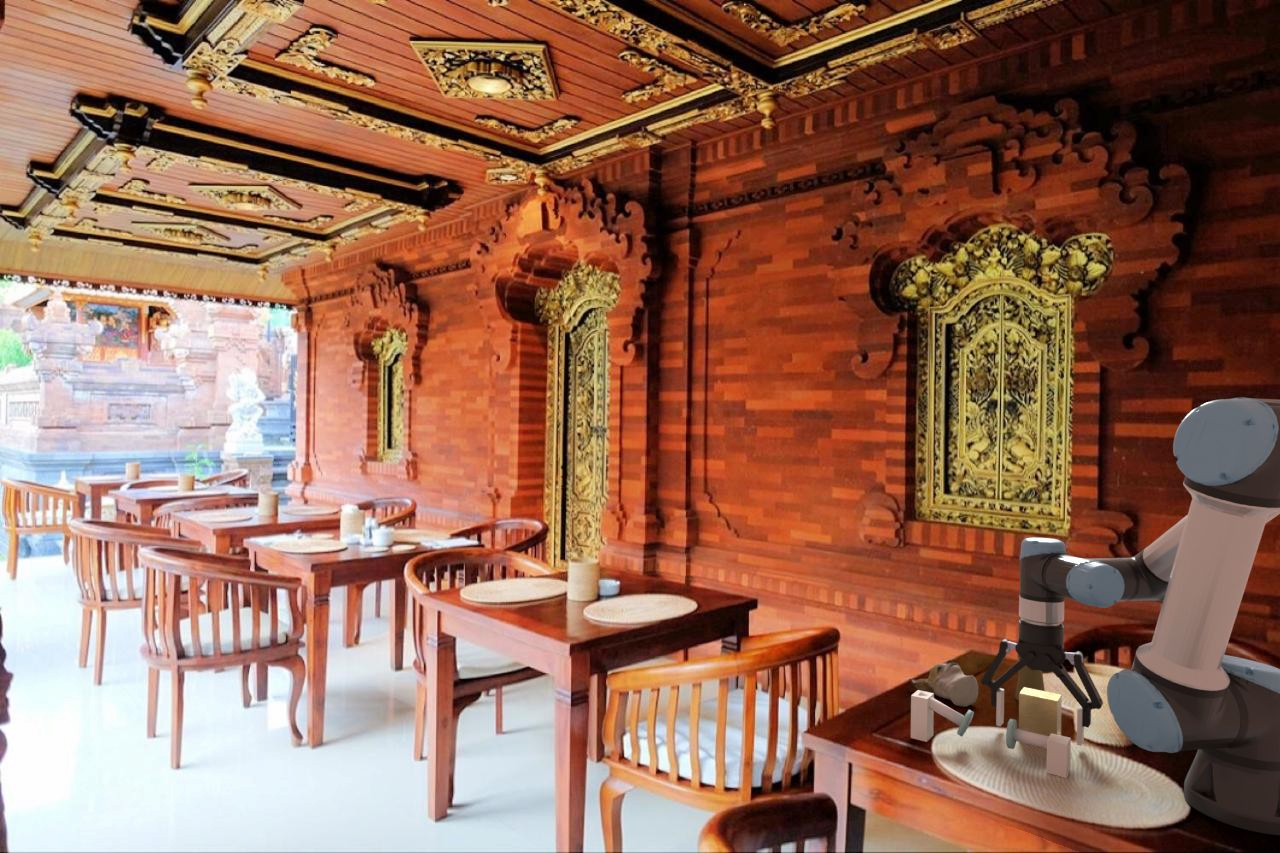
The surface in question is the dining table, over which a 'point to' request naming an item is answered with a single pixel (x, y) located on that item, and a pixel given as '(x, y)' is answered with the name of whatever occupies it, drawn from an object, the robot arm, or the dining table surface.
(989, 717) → the dining table surface
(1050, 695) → the tan rectangular block
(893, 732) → the dining table surface
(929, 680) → the ceramic sculpture
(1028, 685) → the olive pepper shaker
